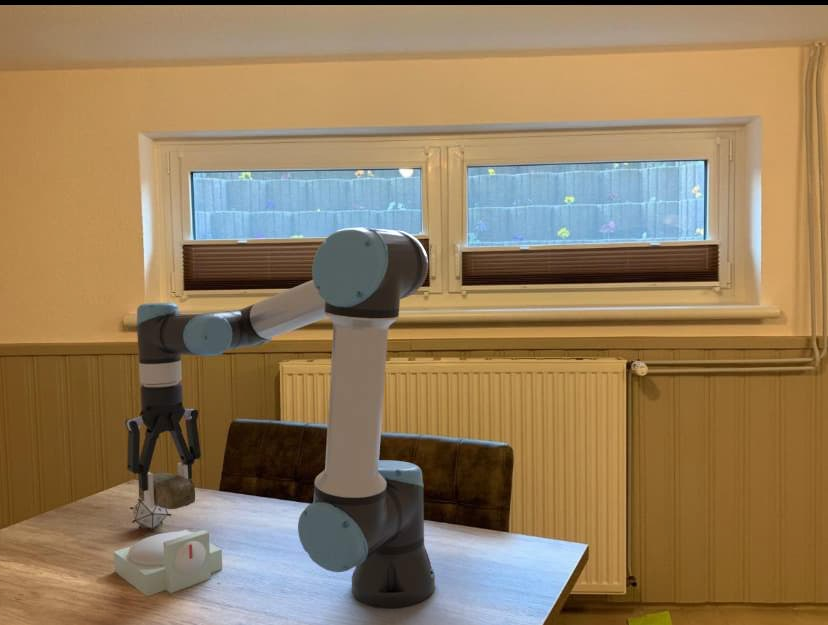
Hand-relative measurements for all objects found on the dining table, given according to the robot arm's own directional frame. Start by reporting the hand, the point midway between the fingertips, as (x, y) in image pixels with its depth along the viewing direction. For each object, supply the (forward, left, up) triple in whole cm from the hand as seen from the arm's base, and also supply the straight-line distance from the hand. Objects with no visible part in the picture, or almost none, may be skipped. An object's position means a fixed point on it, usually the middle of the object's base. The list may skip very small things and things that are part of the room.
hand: (167, 501), depth 131 cm
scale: (0, 0, -14) cm, 14 cm away
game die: (+25, -7, -14) cm, 30 cm away
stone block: (0, 0, -1) cm, 1 cm away
